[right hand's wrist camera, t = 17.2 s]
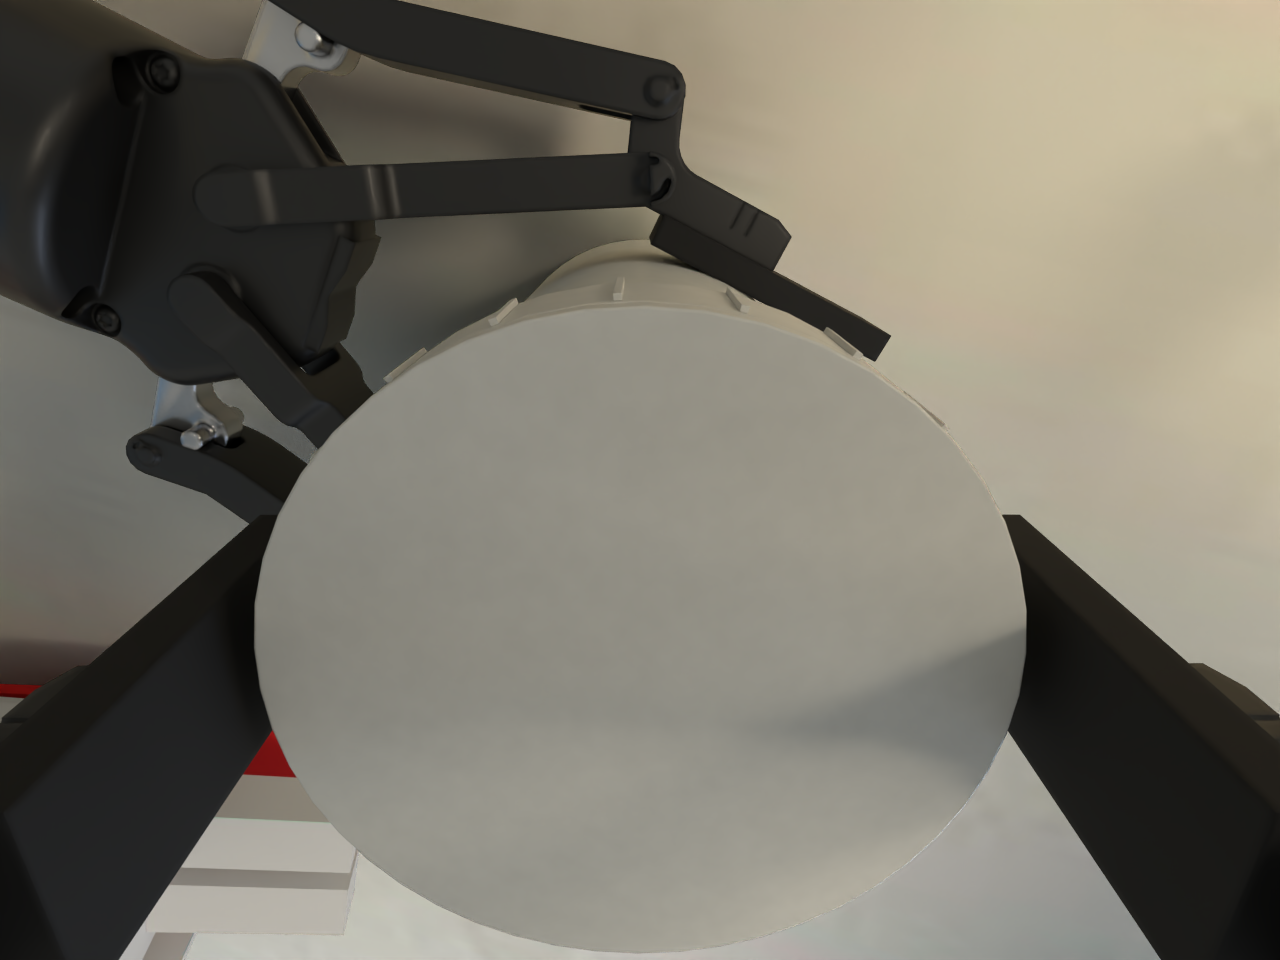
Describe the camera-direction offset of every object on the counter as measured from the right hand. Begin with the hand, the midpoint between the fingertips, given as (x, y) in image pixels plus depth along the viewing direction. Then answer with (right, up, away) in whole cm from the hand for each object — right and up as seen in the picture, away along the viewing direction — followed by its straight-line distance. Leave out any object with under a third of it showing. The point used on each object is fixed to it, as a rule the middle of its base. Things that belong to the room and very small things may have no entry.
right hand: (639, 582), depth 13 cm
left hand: (+4, +1, +9) cm, 10 cm away
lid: (0, -1, -3) cm, 3 cm away
